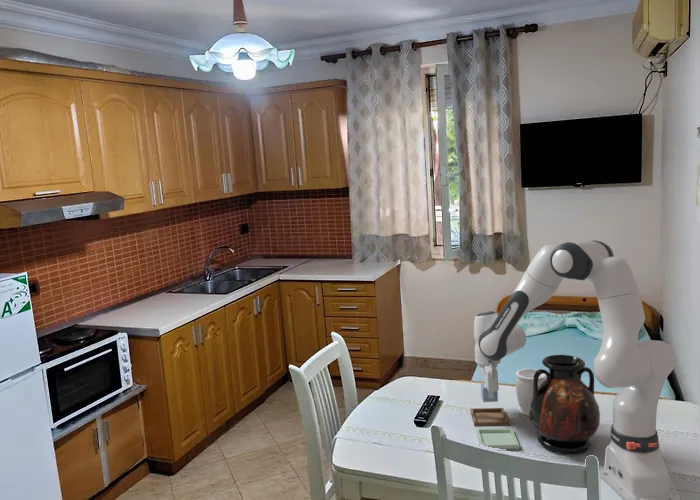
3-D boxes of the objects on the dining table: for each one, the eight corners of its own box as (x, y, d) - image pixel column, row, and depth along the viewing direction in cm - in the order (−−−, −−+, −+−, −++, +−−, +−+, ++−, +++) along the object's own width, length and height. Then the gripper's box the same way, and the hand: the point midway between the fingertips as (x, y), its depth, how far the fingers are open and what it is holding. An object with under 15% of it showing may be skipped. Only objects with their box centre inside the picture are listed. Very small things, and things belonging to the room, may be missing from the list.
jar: (543, 406, 217) (542, 368, 215) (549, 418, 207) (549, 378, 205) (514, 407, 218) (513, 368, 216) (519, 418, 208) (518, 378, 206)
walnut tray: (509, 427, 202) (509, 422, 202) (474, 427, 203) (474, 422, 203) (503, 412, 214) (503, 407, 214) (470, 413, 215) (470, 408, 215)
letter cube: (497, 401, 204) (497, 387, 203) (483, 402, 204) (482, 387, 204) (495, 396, 209) (494, 382, 208) (481, 396, 209) (480, 382, 209)
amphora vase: (585, 427, 199) (584, 348, 195) (611, 458, 177) (612, 370, 173) (521, 430, 199) (520, 351, 195) (540, 461, 178) (539, 374, 174)
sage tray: (519, 450, 186) (519, 444, 185) (481, 450, 187) (480, 445, 187) (512, 433, 198) (511, 428, 197) (476, 433, 199) (476, 428, 198)
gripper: (502, 365, 194) (503, 405, 196) (492, 348, 214) (493, 384, 216) (483, 366, 195) (484, 406, 196) (474, 348, 215) (476, 384, 217)
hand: (489, 394), depth 206 cm, fingers closed on letter cube, 5 cm apart
